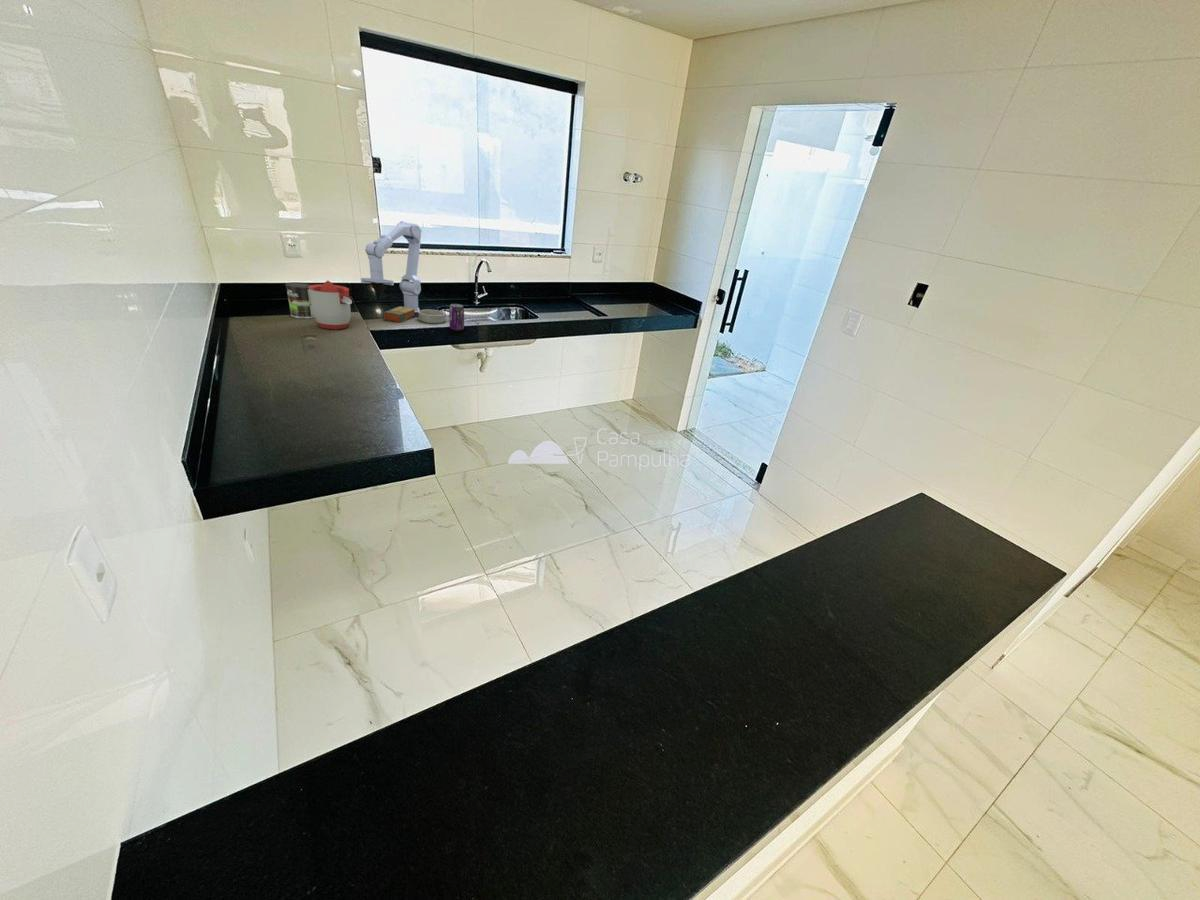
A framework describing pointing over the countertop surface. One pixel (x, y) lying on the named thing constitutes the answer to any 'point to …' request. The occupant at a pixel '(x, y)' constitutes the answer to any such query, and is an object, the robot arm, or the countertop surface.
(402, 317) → the carton
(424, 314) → the beige round dish
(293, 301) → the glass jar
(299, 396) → the countertop surface
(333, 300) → the citrus juicer
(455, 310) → the beverage can
